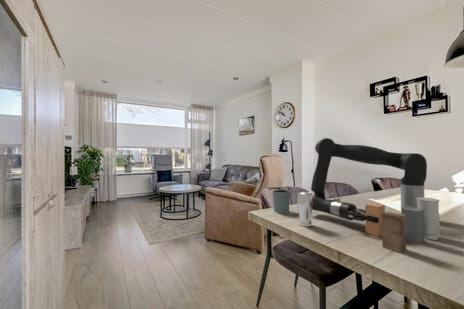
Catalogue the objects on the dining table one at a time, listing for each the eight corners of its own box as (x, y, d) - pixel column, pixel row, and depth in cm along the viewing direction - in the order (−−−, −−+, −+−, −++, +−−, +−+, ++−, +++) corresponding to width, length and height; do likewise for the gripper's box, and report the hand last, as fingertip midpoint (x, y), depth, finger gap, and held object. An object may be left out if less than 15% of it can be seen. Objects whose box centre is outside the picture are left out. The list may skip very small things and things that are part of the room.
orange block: (372, 230, 92) (372, 202, 92) (385, 234, 87) (384, 205, 87) (365, 232, 89) (365, 204, 89) (378, 236, 85) (378, 206, 85)
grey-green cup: (272, 213, 120) (272, 192, 120) (272, 208, 130) (272, 189, 130) (291, 213, 118) (291, 192, 118) (289, 209, 128) (289, 189, 128)
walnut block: (390, 244, 78) (389, 211, 78) (406, 249, 73) (405, 215, 73) (382, 247, 75) (382, 213, 75) (398, 252, 71) (398, 217, 71)
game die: (337, 217, 124) (348, 203, 124) (336, 215, 117) (347, 200, 117) (324, 207, 129) (334, 194, 129) (321, 205, 123) (332, 191, 122)
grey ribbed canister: (412, 233, 88) (411, 197, 88) (429, 233, 87) (428, 197, 87) (426, 240, 81) (426, 201, 81) (445, 240, 81) (444, 200, 81)
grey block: (408, 236, 84) (408, 206, 84) (424, 241, 80) (424, 209, 80) (402, 239, 82) (401, 208, 82) (418, 244, 77) (417, 211, 77)
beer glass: (295, 222, 103) (294, 192, 103) (309, 222, 104) (308, 191, 104) (301, 227, 96) (300, 194, 96) (315, 226, 97) (315, 194, 97)
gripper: (333, 203, 97) (371, 212, 82) (352, 200, 104) (391, 208, 89) (333, 220, 97) (372, 231, 82) (352, 215, 104) (391, 225, 89)
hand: (381, 219), depth 86 cm, fingers closed on orange block, 5 cm apart
